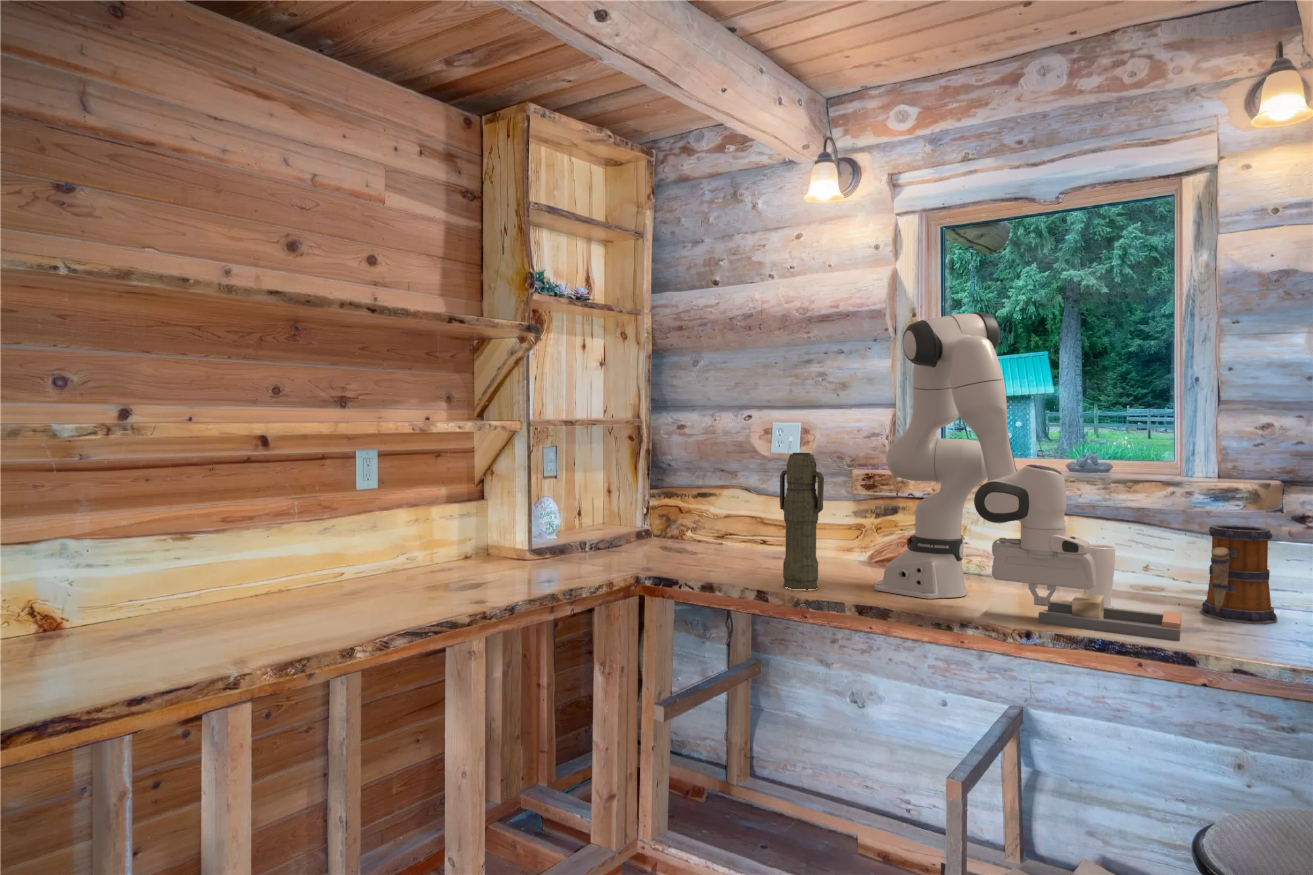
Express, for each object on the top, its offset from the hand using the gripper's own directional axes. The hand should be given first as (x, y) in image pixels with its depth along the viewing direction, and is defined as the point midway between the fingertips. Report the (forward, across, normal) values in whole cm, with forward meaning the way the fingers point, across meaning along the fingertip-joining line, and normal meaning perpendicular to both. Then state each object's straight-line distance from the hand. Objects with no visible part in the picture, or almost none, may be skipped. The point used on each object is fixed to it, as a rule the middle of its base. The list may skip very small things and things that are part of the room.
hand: (1042, 605), depth 178 cm
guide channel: (+4, +12, +2) cm, 13 cm away
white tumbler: (+4, +8, +21) cm, 23 cm away
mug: (+4, +33, +32) cm, 46 cm away
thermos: (+4, -59, +4) cm, 59 cm away
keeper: (+3, +8, +2) cm, 9 cm away
